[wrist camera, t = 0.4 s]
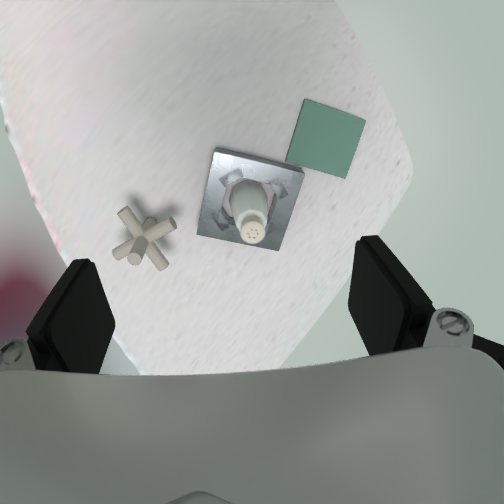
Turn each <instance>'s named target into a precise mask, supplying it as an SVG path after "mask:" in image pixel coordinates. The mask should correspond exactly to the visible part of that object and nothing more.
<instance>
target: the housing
mask: <svg viewBox="0 0 504 504" xmlns="http://www.w3.org/2000/svg"><path fill="white" fill-rule="evenodd" d="M304 176H305V173H304V172H303V170H302V169H301V168H297V167H294V166H290V165H286V164H282V163H279V162H275V161H271V160H267V159H263V158H259V157H255V156H251V155H246V154H242V153H238V152H233V151H229V150H224V149H220V148H216V149H215V153H214V157H213V161H212V165H211V170H210V174H209V178H208V183H207V187H206V192H205V196H204V201H203V205H202V210H201V215H200V220H199V224H198V229H197V234H196V235H201V236H206V237H211V238H216V239H221V240H226V241H231V242H236V243H241V244H246V245H251V246H256V247H261V248H266V249H271V250H275V251H279V249H280V246H281V243H282V240H283V237H284V234H285V232H286V229H287V226H288V223H289V220H290V217H291V214H292V211H293V208H294V206H295V203H296V200H297V197H298V194H299V191H300V188H301V185H302V182H303V179H304ZM241 177H243V178H247V179H252V180H256V181H260V182H265V183H269V184H270V185H271V186H272V188H273V190H274V191H275V195H274V198H273V201H272V204H271V207H270V211H269V214H268V215H267V216H268V219H267V224H266V227H265V231H266V232H265V236H264V238H263V240H261V241H260V242H258V243H255V244H250V243H247V242H245V241H244V240H243V239H242V238H241V235H240V231H239V229H238V228H237V226H236V224H235V221H234V218H233V217H229V216H228V214H227V213H226V212H225V210H224V209H223V207H222V202H223V198H224V194H225V190H226V186H227V185H229V184H231V183H232V182H234V181H236V180H237V179H239V178H241Z"/></svg>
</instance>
